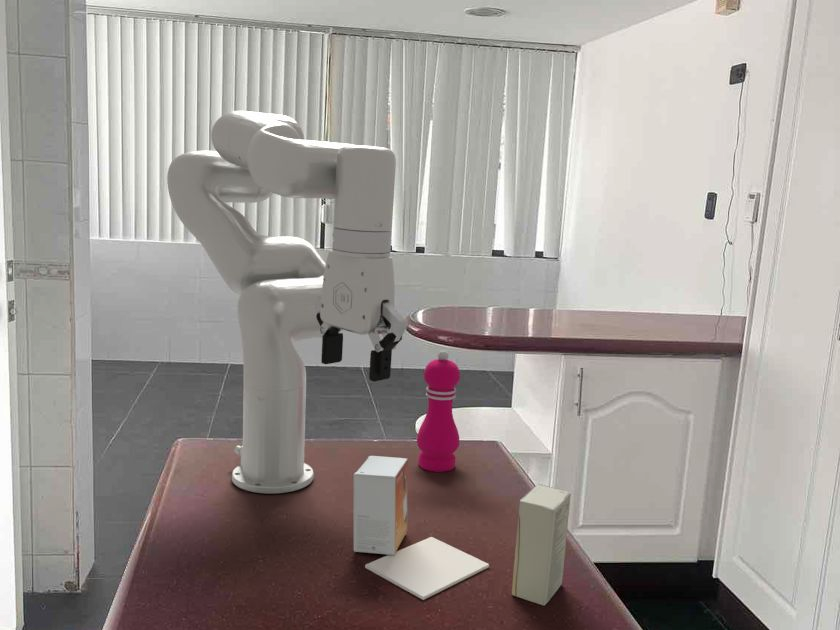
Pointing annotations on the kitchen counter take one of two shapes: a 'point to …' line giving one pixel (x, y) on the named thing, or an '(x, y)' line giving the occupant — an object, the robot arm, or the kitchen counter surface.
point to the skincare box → (540, 543)
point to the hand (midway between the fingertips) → (354, 370)
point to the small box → (380, 505)
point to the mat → (427, 567)
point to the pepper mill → (439, 416)
